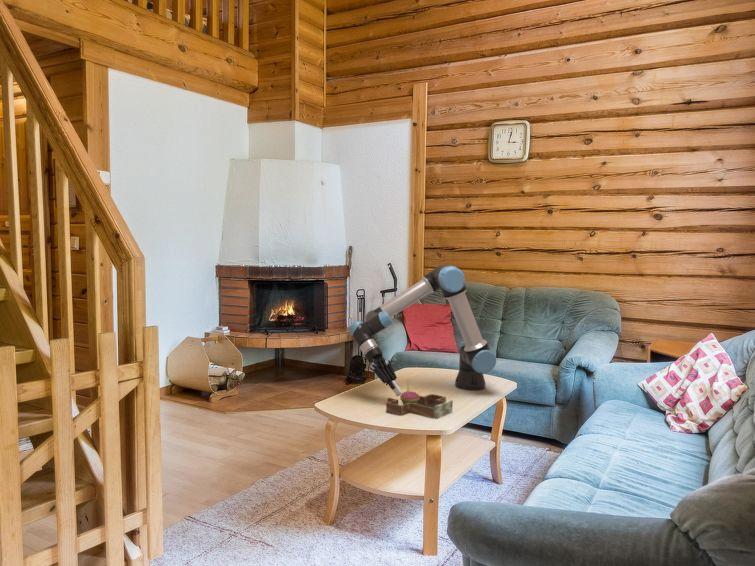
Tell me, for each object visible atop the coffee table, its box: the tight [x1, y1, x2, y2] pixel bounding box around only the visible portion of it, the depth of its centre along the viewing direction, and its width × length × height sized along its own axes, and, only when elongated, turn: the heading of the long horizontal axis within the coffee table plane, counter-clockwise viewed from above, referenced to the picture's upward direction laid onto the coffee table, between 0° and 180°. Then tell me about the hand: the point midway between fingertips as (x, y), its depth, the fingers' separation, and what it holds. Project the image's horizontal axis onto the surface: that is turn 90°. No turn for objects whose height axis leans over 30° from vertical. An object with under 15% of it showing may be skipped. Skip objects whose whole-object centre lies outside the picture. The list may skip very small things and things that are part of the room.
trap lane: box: [385, 393, 454, 420], centre depth 257 cm, size 26×25×5 cm
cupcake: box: [399, 380, 421, 405], centre depth 260 cm, size 9×8×12 cm
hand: (399, 394), depth 262 cm, fingers closed
